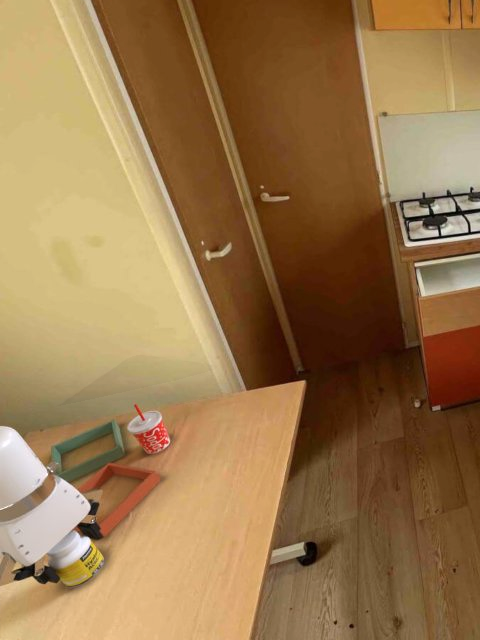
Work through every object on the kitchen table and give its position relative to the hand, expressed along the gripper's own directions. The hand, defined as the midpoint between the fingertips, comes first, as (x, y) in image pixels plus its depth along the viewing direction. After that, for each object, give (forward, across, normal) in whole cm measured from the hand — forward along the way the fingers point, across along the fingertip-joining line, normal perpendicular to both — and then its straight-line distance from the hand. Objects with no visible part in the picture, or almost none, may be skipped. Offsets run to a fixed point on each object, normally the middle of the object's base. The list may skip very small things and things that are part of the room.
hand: (73, 557), depth 75 cm
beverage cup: (+5, -25, -11) cm, 28 cm away
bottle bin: (+5, -20, -24) cm, 32 cm away
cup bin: (+5, -12, -8) cm, 15 cm away
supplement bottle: (+5, 0, 0) cm, 5 cm away
